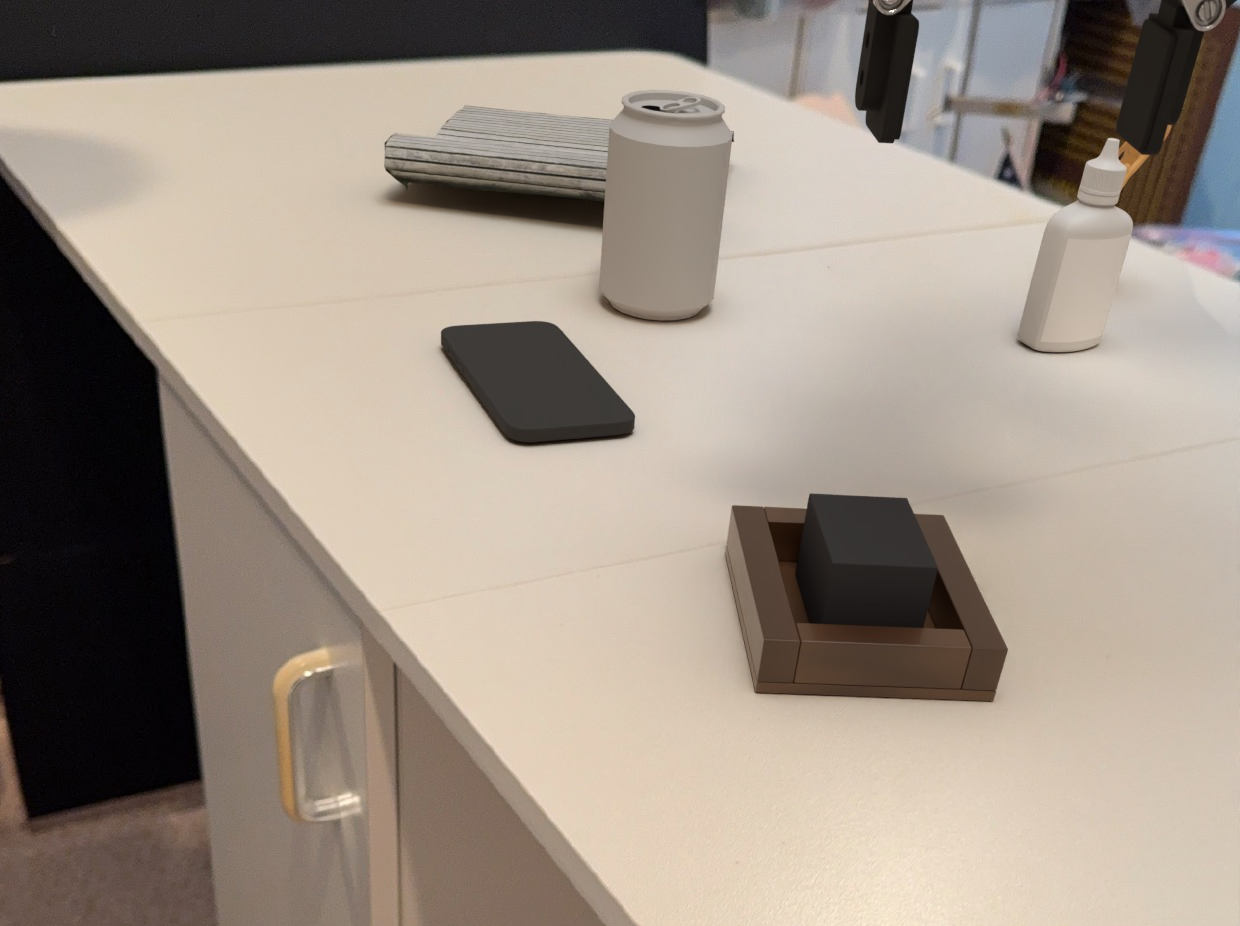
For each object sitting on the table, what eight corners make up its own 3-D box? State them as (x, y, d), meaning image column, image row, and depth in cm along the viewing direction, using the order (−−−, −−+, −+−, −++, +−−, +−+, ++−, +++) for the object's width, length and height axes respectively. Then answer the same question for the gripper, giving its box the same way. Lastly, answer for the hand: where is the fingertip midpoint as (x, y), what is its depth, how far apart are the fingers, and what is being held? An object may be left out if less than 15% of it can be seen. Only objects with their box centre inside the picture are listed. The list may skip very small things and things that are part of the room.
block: (794, 575, 66) (809, 492, 63) (889, 578, 66) (907, 497, 64) (816, 648, 61) (832, 562, 59) (917, 652, 61) (938, 567, 59)
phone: (510, 431, 75) (434, 326, 85) (509, 447, 75) (434, 340, 86) (643, 421, 77) (553, 319, 88) (641, 435, 78) (552, 333, 88)
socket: (932, 563, 69) (944, 514, 67) (993, 701, 60) (1009, 649, 58) (724, 554, 68) (731, 504, 67) (755, 692, 59) (764, 639, 57)
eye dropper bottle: (1107, 359, 92) (1169, 153, 84) (1019, 351, 92) (1072, 144, 84) (1095, 335, 95) (1153, 135, 87) (1009, 327, 95) (1060, 126, 87)
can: (580, 289, 95) (591, 85, 87) (682, 281, 98) (702, 82, 90) (626, 329, 90) (643, 116, 82) (732, 320, 92) (758, 112, 85)
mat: (732, 164, 121) (740, 102, 118) (692, 247, 104) (699, 177, 101) (465, 131, 124) (466, 69, 121) (382, 207, 106) (379, 136, 103)
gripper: (881, -535, 39) (792, 157, 50) (1497, -489, 40) (1274, 179, 51) (835, -515, 44) (764, 104, 56) (1376, -474, 46) (1199, 124, 57)
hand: (1009, 139), depth 53 cm, fingers open, 9 cm apart
